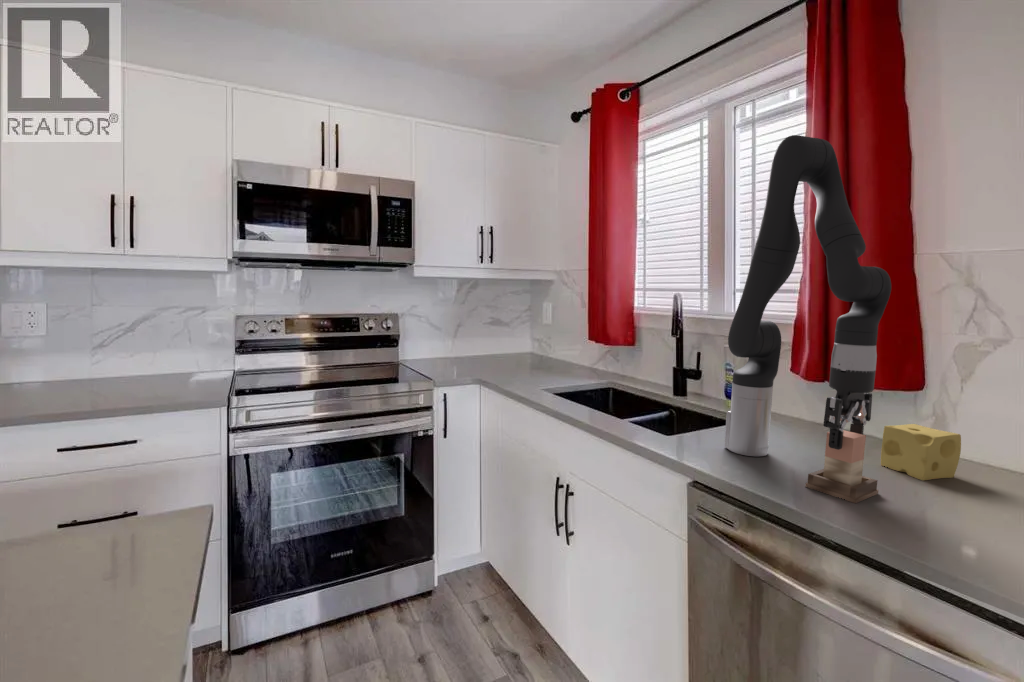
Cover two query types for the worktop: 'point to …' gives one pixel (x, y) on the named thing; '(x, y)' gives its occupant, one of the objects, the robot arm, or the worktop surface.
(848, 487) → the socket board
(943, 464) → the cheese
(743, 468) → the worktop surface
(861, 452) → the top block
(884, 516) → the worktop surface
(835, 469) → the base block
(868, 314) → the robot arm
